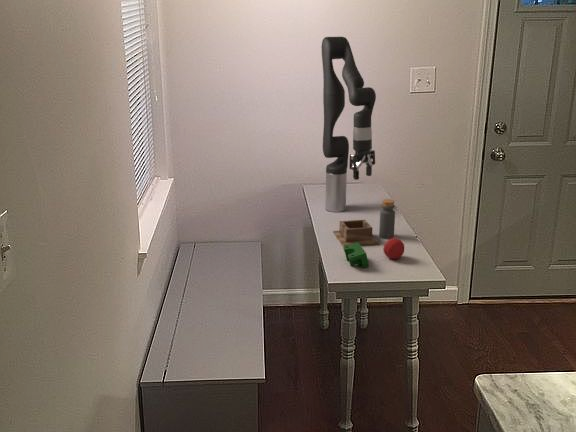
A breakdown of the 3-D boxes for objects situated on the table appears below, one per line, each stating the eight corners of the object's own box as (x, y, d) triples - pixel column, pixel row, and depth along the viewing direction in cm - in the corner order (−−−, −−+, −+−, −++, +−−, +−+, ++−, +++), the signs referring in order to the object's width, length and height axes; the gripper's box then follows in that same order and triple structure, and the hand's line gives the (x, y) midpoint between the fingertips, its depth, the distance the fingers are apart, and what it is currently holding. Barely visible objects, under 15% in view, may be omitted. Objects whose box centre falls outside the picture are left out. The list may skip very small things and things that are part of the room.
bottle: (395, 234, 269) (396, 199, 264) (392, 239, 264) (394, 203, 259) (380, 233, 271) (382, 197, 266) (377, 238, 265) (379, 202, 261)
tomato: (403, 239, 239) (390, 229, 245) (387, 254, 239) (375, 244, 244) (411, 252, 244) (398, 242, 250) (395, 266, 244) (383, 256, 250)
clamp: (348, 270, 246) (341, 246, 246) (364, 265, 246) (357, 242, 246) (353, 270, 234) (346, 245, 234) (370, 265, 234) (362, 241, 234)
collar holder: (333, 233, 271) (333, 219, 269) (366, 231, 273) (366, 217, 271) (343, 247, 256) (344, 232, 254) (378, 244, 258) (379, 230, 256)
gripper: (365, 135, 276) (365, 173, 280) (344, 139, 266) (344, 179, 270) (380, 136, 271) (380, 175, 275) (359, 141, 261) (359, 181, 265)
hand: (362, 177), depth 272 cm, fingers open, 8 cm apart
